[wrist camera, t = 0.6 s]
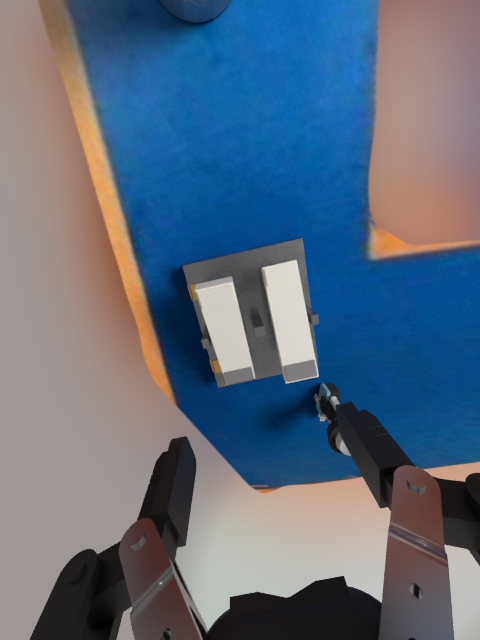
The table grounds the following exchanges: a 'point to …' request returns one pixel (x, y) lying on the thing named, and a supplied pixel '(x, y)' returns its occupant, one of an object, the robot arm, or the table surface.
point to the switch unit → (251, 301)
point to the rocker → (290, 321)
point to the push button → (330, 415)
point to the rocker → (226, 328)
